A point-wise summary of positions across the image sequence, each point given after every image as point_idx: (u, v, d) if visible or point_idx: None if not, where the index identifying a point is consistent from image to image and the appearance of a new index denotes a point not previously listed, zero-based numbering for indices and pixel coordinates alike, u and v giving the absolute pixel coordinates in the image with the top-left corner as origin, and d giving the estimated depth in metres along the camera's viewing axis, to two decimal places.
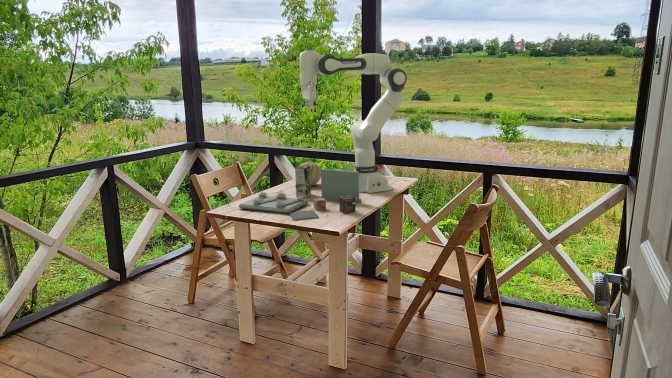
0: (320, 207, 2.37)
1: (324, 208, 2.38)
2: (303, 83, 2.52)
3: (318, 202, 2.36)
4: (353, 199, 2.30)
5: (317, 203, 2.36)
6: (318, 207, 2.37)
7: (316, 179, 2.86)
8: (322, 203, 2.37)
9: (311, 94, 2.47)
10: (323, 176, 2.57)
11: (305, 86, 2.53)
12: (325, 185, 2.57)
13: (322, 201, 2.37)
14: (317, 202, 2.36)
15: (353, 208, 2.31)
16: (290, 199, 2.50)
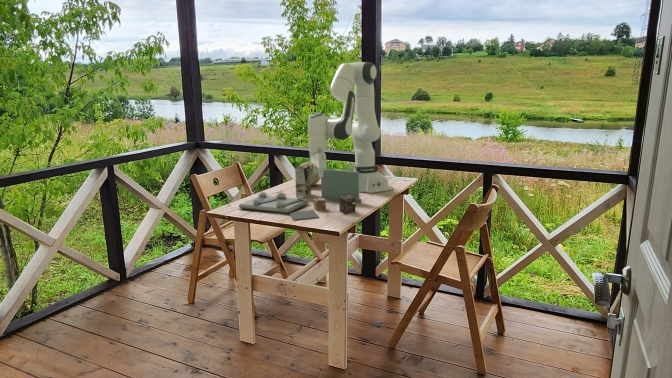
0: (320, 207, 2.37)
1: (324, 208, 2.38)
2: (312, 149, 2.30)
3: (318, 202, 2.36)
4: (353, 199, 2.30)
5: (317, 203, 2.36)
6: (318, 207, 2.37)
7: (316, 179, 2.86)
8: (322, 203, 2.37)
9: (321, 163, 2.25)
10: (323, 176, 2.57)
11: (314, 152, 2.31)
12: (325, 185, 2.57)
13: (322, 201, 2.37)
14: (317, 202, 2.36)
15: (353, 208, 2.31)
16: (290, 199, 2.50)
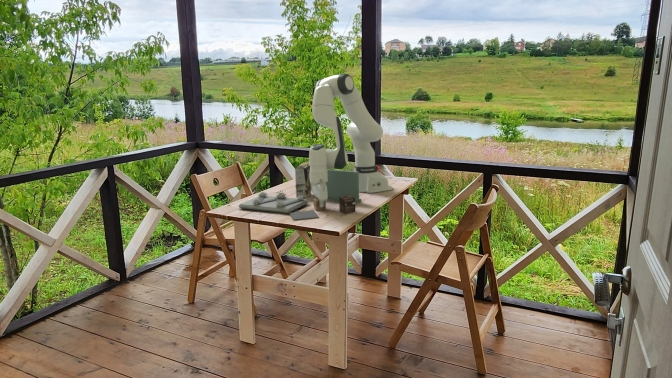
0: (320, 207, 2.37)
1: (324, 208, 2.38)
2: (313, 181, 2.33)
3: (318, 202, 2.36)
4: (353, 199, 2.30)
5: (317, 203, 2.36)
6: (318, 207, 2.37)
7: None
8: None
9: (322, 195, 2.28)
10: None
11: (315, 183, 2.34)
12: None
13: None
14: (317, 202, 2.36)
15: (353, 208, 2.31)
16: (290, 199, 2.50)
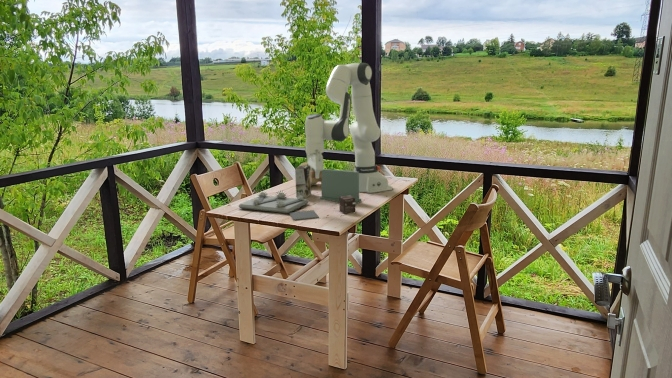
0: (316, 179, 2.32)
1: (320, 179, 2.32)
2: (309, 151, 2.28)
3: (314, 173, 2.31)
4: (353, 199, 2.30)
5: (313, 174, 2.31)
6: (314, 178, 2.32)
7: None
8: None
9: (318, 165, 2.23)
10: (323, 176, 2.57)
11: (311, 154, 2.29)
12: (325, 185, 2.57)
13: None
14: (313, 173, 2.31)
15: (353, 208, 2.31)
16: (290, 199, 2.50)
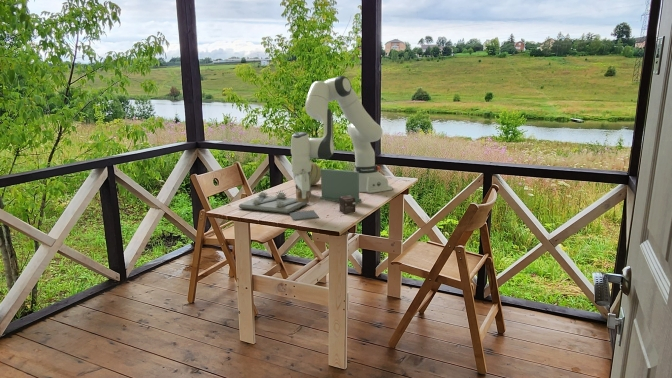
0: None
1: (307, 199, 2.25)
2: (295, 170, 2.20)
3: (300, 193, 2.24)
4: (353, 199, 2.30)
5: (299, 194, 2.24)
6: (300, 198, 2.24)
7: (316, 179, 2.86)
8: None
9: (304, 185, 2.16)
10: (323, 176, 2.57)
11: (297, 173, 2.22)
12: (325, 185, 2.57)
13: None
14: (299, 193, 2.24)
15: (353, 208, 2.31)
16: (290, 199, 2.50)
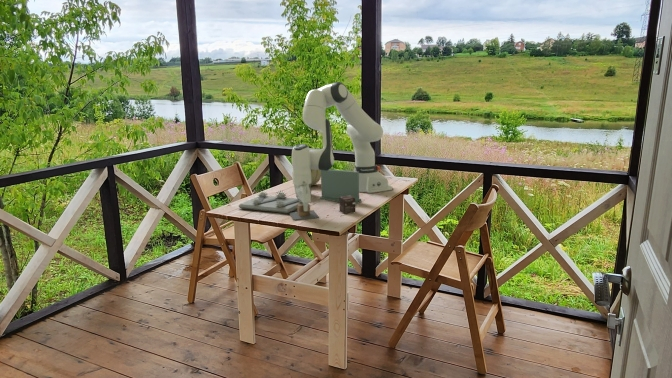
0: (304, 213, 2.26)
1: (308, 213, 2.27)
2: (296, 183, 2.22)
3: (301, 207, 2.25)
4: (353, 199, 2.30)
5: (300, 208, 2.25)
6: (302, 212, 2.26)
7: (316, 179, 2.86)
8: None
9: (305, 197, 2.17)
10: (323, 176, 2.57)
11: (298, 185, 2.23)
12: (325, 185, 2.57)
13: None
14: (300, 207, 2.25)
15: (353, 208, 2.31)
16: (290, 199, 2.50)
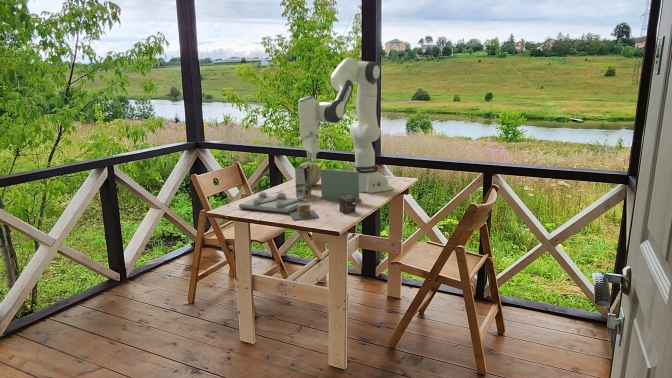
0: (304, 213, 2.26)
1: (308, 213, 2.27)
2: (303, 134, 2.27)
3: (301, 207, 2.25)
4: (353, 199, 2.30)
5: (300, 208, 2.25)
6: (302, 212, 2.26)
7: (316, 179, 2.86)
8: (306, 208, 2.26)
9: (313, 147, 2.22)
10: (323, 176, 2.57)
11: (306, 137, 2.28)
12: (325, 185, 2.57)
13: (306, 206, 2.26)
14: (300, 207, 2.25)
15: (353, 208, 2.31)
16: (290, 199, 2.50)
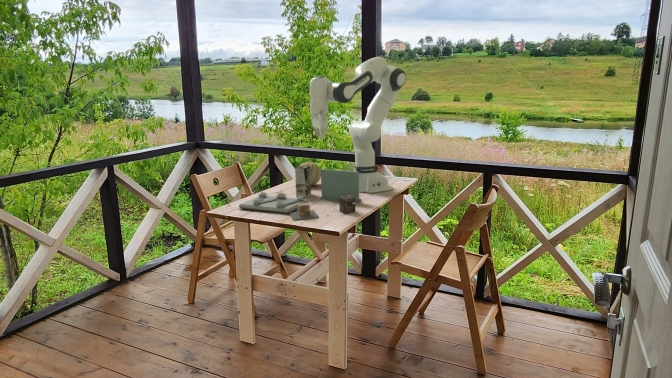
0: (304, 213, 2.26)
1: (308, 213, 2.27)
2: (313, 111, 2.37)
3: (301, 207, 2.25)
4: (353, 199, 2.30)
5: (300, 208, 2.25)
6: (302, 212, 2.26)
7: (316, 179, 2.86)
8: (306, 208, 2.26)
9: (322, 124, 2.32)
10: (323, 176, 2.57)
11: (316, 114, 2.38)
12: (325, 185, 2.57)
13: (306, 206, 2.26)
14: (300, 207, 2.25)
15: (353, 208, 2.31)
16: (290, 199, 2.50)
